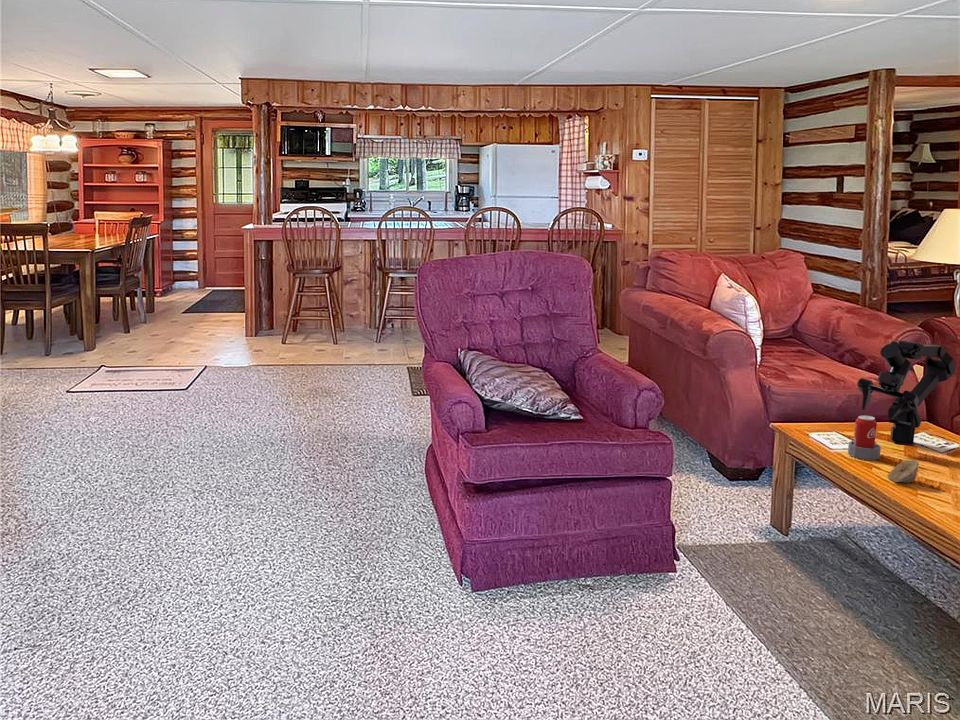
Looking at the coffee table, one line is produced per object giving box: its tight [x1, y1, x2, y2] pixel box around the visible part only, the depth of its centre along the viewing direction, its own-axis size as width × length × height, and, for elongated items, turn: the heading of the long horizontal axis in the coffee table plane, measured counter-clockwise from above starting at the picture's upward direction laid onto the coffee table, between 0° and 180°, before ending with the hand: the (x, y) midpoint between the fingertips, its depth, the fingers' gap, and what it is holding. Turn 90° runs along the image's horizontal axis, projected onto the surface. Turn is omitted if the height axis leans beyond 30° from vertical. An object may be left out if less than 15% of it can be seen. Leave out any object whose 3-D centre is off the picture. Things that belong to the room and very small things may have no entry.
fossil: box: [887, 459, 920, 484], centre depth 265 cm, size 9×4×10 cm
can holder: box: [847, 440, 882, 461], centre depth 289 cm, size 9×9×4 cm
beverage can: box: [852, 415, 878, 448], centre depth 289 cm, size 6×6×12 cm
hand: (876, 414), depth 294 cm, fingers open, 9 cm apart
